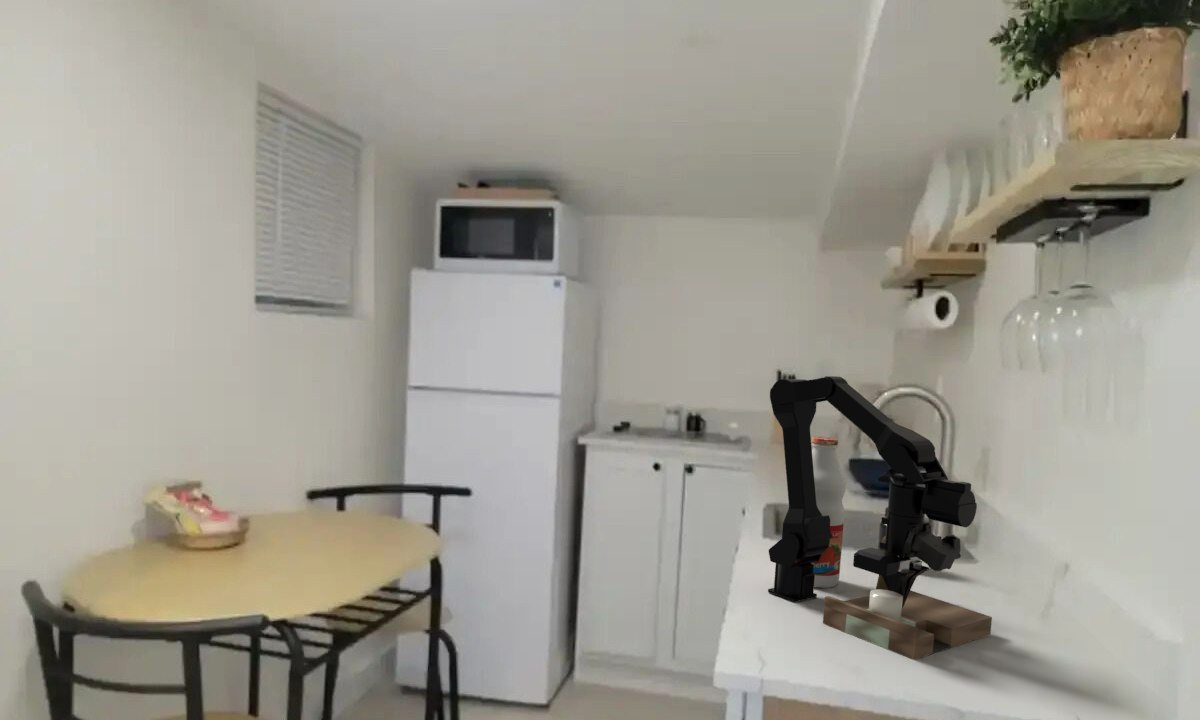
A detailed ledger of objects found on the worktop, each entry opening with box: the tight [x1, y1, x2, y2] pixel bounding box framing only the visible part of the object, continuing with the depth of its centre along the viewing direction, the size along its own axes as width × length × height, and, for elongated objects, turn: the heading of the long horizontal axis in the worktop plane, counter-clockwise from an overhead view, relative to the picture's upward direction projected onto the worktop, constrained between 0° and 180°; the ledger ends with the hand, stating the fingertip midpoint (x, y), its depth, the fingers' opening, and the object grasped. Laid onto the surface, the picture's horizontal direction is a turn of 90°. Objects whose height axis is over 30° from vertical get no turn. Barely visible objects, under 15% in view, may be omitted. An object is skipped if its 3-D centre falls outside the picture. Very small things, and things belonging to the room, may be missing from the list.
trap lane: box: [822, 589, 993, 660], centre depth 143 cm, size 17×22×4 cm
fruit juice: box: [811, 435, 847, 589], centre depth 167 cm, size 9×9×28 cm
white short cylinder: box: [869, 588, 903, 622], centre depth 138 cm, size 5×5×4 cm
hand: (898, 607), depth 141 cm, fingers closed
